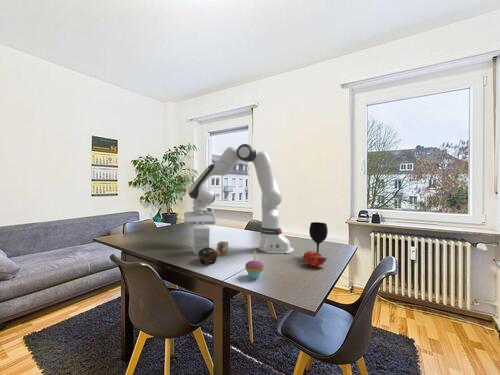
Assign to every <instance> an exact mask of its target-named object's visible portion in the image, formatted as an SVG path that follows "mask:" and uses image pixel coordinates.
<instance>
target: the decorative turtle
mask: <svg viewBox="0 0 500 375" xmlns="http://www.w3.org/2000/svg"><path fill="white" fill-rule="evenodd" d="M197 256H198V259H199V261H200V263H201V264H203V263H204V265H205V266H208V265H209V264H210V263H213V264H216V262H217V258H218V256H219V255H218V253H217V249H214V248H212V247H210V246H209V247H206V248H203V249H201V250H200V251H199V253H198V254H197Z"/></svg>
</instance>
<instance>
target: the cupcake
mask: <svg viewBox="0 0 500 375" xmlns="http://www.w3.org/2000/svg"><path fill="white" fill-rule="evenodd" d="M264 269H265V265H264V264H263V263H262V262H261V261H260V260H256V250H254V251H253V260H249V261H247V262H246V263H245V271H246V272H247V275H248V278H250V279H254V280H256V279H258V278H260V276H261V273H262V271H264Z"/></svg>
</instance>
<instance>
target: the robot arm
mask: <svg viewBox="0 0 500 375" xmlns="http://www.w3.org/2000/svg"><path fill="white" fill-rule="evenodd" d="M256 150H257V149H255V148H254V146H252V145H251V144H249V143H243V144H240V145H239V146H238V147H237V148H236V147H233V146H228V147H226V149H225V150H224V151H223V153H222V154H221V155H220V157H219V159H218V160H217V161H215V163H211V164H209V165H208V166H207V167H206V168H205V169H204V171H203V172H202V173H201V174H200V175H199V177H198V178H197V179H196V180H195V181H194V182H193V183H192V184H191V185H190V186H189V188H188V190H187V193H188V196H189V198H191V199H192V200H193V201H192V204H193V208H192V211H186V212H184V213H183V217H184V220H183V223H184V225H185V226H189V225H190V226H193V225H194V226H208V225H209V226H211V225H215V224H216V223H217V219H216V214H215V213H214V208H210V207H207V206H209V205H211V204H213V203H214V202H215V200H216V191H214V190H213V189H211V188H208V187H206V186H203V185H204V184H206V182H207V180H208V179H209V178H211V177H213V176H227V175H230V174H231V172H232V171H233V170H234V168H235V166H236V164H237V163H238V162H240V161H242V162H246V163H252V164H253V166H254V169H255V173H256V177H257V182H258V185H259V188H260V190H261V227H260V242H259V245H258V249H259V251H261V252H264V253H267V254H284V253H286V254H287V255H288V254H289V255H290V254H293V253H292V252H294V248H293V246H291V242H290V240H289V239H288V238H287V237H286V236H285V235H284V234H282V233H283V230H282V228H281V227H279V226H280V214H279V213H280V212H279V205H280V204H281V203H282V200H283V198H282V194H281V190H280V187H279V185H278V182H277V179H276V176H275V172H274V169H273V168H274V167H273V165H272V161H271V159H270V156H269V154H268V153H267V152H266V151H264V150H263V151H256Z"/></svg>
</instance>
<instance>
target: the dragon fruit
mask: <svg viewBox="0 0 500 375" xmlns="http://www.w3.org/2000/svg"><path fill="white" fill-rule="evenodd" d="M321 255H322V254H320V252H319V253H317V251H315V250H313V251H312V250H308V251H305V253H303V256H302V258H303V261H302V262H304V263H307V265H308V266H309V267H315V268H317V267H319V268H321V266H322V265H324V263H325V262H327V260H326V259H325V258H324V257H321Z"/></svg>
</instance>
